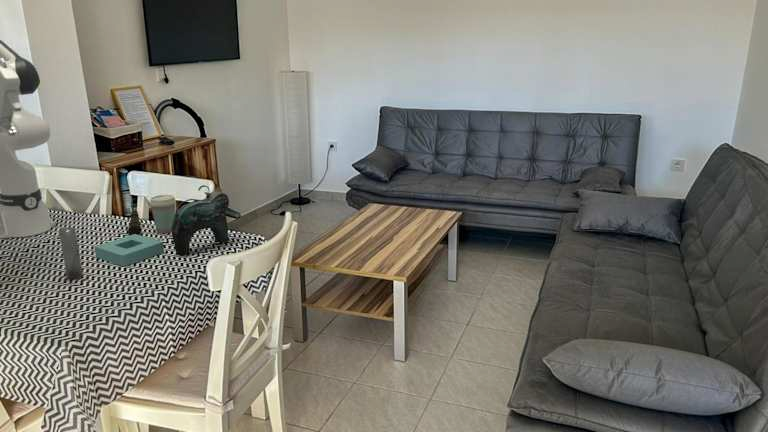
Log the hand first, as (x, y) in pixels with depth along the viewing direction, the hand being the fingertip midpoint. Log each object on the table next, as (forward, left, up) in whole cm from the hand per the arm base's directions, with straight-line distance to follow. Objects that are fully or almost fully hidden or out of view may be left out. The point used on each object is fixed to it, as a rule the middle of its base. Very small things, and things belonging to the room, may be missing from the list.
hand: (15, 122), depth 149 cm
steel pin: (+6, +5, -43) cm, 44 cm away
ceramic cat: (+18, +41, -44) cm, 63 cm away
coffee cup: (-6, +45, -44) cm, 63 cm away
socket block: (+4, +24, -43) cm, 50 cm away
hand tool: (-18, +41, -44) cm, 63 cm away
